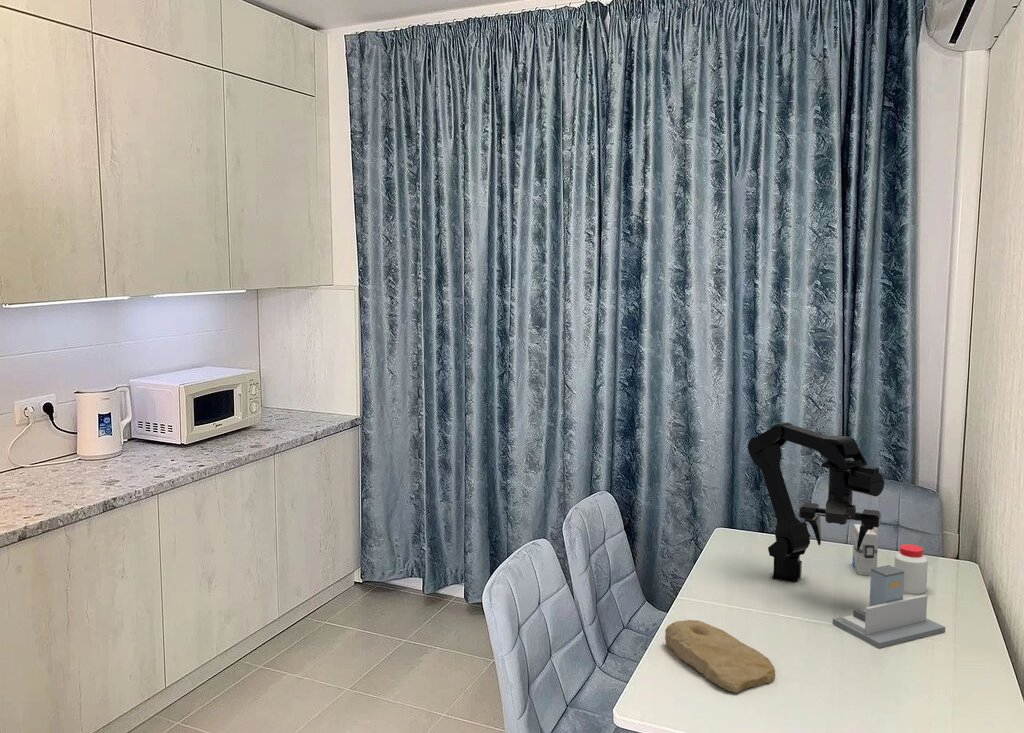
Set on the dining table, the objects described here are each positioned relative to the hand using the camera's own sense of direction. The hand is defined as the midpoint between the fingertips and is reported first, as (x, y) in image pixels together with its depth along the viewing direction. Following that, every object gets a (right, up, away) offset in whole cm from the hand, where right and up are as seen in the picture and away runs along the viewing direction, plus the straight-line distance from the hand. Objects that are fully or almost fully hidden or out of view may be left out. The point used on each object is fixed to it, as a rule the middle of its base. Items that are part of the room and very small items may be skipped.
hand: (838, 547), depth 214 cm
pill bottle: (+21, -12, +6) cm, 25 cm away
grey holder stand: (+5, -15, -17) cm, 23 cm away
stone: (-39, -19, -33) cm, 54 cm away
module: (+5, -13, -16) cm, 21 cm away
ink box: (+15, -11, +20) cm, 27 cm away
